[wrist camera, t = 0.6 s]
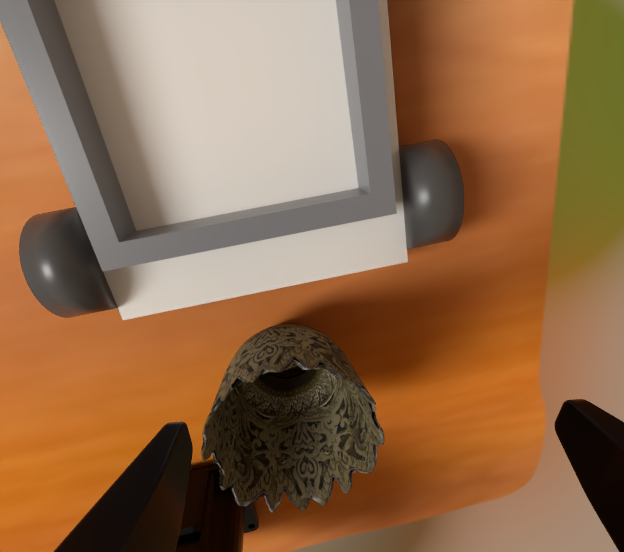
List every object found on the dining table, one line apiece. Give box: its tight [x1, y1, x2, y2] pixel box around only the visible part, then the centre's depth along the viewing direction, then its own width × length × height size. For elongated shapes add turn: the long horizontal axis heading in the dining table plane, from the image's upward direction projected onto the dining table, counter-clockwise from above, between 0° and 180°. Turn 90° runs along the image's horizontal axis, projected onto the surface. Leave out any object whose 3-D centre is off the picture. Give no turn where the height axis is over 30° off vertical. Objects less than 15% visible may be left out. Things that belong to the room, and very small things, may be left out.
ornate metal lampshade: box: [201, 324, 384, 512], centre depth 18 cm, size 8×7×8 cm
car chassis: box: [0, 0, 464, 320], centre depth 14 cm, size 18×18×6 cm
